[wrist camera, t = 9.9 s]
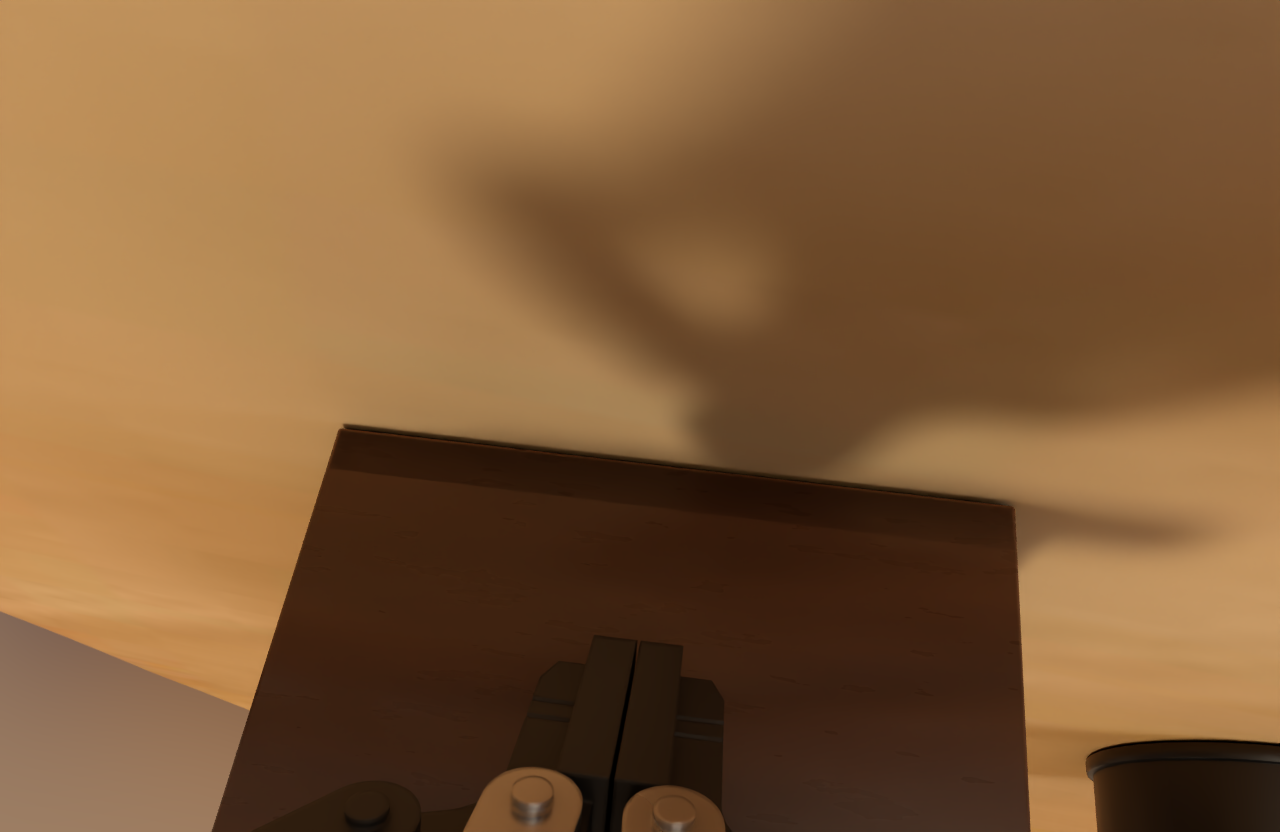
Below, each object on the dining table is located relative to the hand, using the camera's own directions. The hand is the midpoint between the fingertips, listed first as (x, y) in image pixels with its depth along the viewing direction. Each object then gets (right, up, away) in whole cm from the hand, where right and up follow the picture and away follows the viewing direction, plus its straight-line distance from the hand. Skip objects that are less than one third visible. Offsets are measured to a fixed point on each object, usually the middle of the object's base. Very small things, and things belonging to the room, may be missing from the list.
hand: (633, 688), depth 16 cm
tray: (+1, -1, +10) cm, 10 cm away
